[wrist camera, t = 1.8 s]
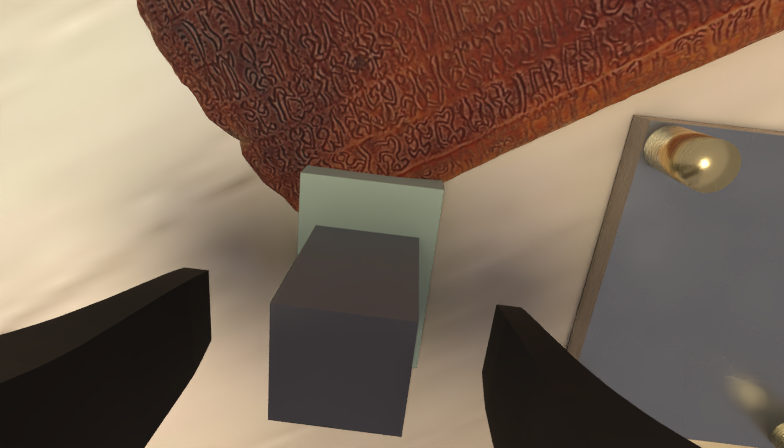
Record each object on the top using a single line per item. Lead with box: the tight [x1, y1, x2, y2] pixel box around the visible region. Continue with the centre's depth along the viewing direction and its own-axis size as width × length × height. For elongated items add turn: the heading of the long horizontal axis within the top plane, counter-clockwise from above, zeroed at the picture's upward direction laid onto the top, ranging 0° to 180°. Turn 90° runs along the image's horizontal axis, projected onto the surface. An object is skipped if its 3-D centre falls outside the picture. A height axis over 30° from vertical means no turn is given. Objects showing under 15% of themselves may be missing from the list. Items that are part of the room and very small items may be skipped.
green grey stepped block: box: [268, 165, 444, 437], centre depth 13 cm, size 6×4×6 cm, turn 174°
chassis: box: [567, 115, 784, 448], centre depth 13 cm, size 10×8×3 cm
